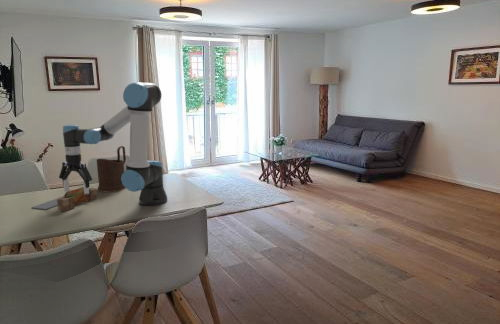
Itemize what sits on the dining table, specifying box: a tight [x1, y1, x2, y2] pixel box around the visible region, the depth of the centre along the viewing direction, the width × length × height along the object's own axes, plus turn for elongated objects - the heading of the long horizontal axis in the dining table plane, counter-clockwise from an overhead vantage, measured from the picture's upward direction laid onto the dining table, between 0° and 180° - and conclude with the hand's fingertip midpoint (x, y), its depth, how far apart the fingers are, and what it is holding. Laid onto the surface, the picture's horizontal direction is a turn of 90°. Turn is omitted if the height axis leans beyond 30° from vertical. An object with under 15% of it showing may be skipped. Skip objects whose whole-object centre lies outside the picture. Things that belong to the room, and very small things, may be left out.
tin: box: [63, 186, 90, 207], centre depth 199 cm, size 15×3×8 cm, turn 149°
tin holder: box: [56, 187, 98, 212], centre depth 198 cm, size 6×23×6 cm, turn 161°
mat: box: [31, 195, 64, 211], centre depth 202 cm, size 10×24×1 cm, turn 161°
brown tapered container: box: [96, 145, 127, 193], centre depth 231 cm, size 18×24×25 cm
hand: (76, 192), depth 197 cm, fingers open, 13 cm apart
